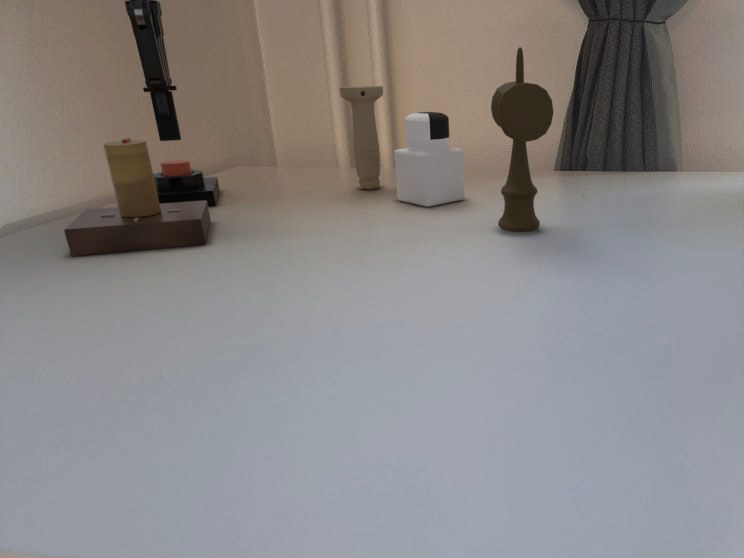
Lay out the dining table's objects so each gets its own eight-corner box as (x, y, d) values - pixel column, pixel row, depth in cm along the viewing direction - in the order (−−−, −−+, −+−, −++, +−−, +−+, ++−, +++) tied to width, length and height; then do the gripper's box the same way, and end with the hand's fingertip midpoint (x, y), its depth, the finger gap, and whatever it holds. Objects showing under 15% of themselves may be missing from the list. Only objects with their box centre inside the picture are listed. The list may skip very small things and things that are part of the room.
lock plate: (71, 256, 74) (63, 228, 73) (92, 233, 84) (85, 207, 83) (205, 244, 78) (200, 217, 77) (211, 223, 88) (206, 198, 86)
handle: (348, 186, 109) (338, 86, 103) (388, 184, 111) (380, 85, 104) (350, 192, 105) (340, 88, 99) (391, 189, 106) (384, 86, 100)
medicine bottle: (434, 193, 103) (430, 109, 98) (465, 199, 98) (463, 112, 93) (396, 200, 99) (390, 113, 94) (427, 207, 94) (422, 116, 89)
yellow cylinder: (158, 215, 78) (142, 140, 75) (117, 218, 77) (98, 143, 74) (163, 207, 82) (148, 136, 79) (123, 210, 81) (106, 138, 78)
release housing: (140, 211, 95) (134, 182, 93) (152, 195, 106) (146, 169, 104) (215, 205, 98) (210, 177, 96) (219, 190, 108) (215, 165, 106)
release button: (161, 179, 98) (158, 164, 97) (164, 174, 101) (161, 160, 100) (191, 177, 99) (188, 162, 98) (193, 173, 102) (190, 159, 101)
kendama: (499, 241, 77) (498, 47, 69) (489, 221, 86) (487, 47, 77) (551, 238, 77) (556, 46, 69) (536, 219, 86) (539, 46, 78)
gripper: (157, -56, 83) (194, 143, 93) (168, -43, 95) (201, 133, 105) (89, -57, 81) (135, 147, 91) (110, -44, 93) (148, 136, 103)
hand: (170, 139), depth 98 cm, fingers closed
